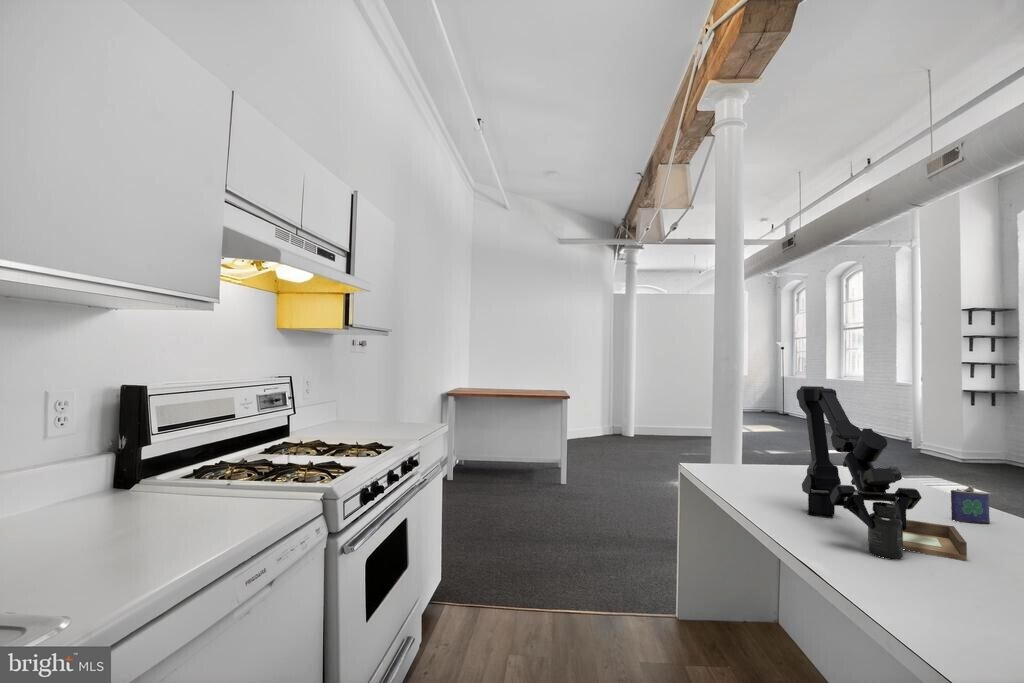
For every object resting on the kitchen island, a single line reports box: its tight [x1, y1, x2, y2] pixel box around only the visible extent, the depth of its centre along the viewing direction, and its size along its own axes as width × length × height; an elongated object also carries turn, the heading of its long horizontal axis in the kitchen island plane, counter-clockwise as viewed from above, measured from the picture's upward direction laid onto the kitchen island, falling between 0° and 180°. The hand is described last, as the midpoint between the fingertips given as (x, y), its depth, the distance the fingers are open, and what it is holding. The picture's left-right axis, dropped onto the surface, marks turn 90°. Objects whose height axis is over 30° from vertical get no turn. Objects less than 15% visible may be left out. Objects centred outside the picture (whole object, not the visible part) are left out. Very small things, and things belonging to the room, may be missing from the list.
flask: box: [950, 485, 991, 525], centre depth 153 cm, size 9×3×11 cm, turn 74°
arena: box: [903, 519, 968, 561], centre depth 132 cm, size 16×15×4 cm
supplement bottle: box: [867, 501, 904, 560], centre depth 124 cm, size 7×7×12 cm
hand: (888, 528), depth 123 cm, fingers closed on supplement bottle, 7 cm apart
